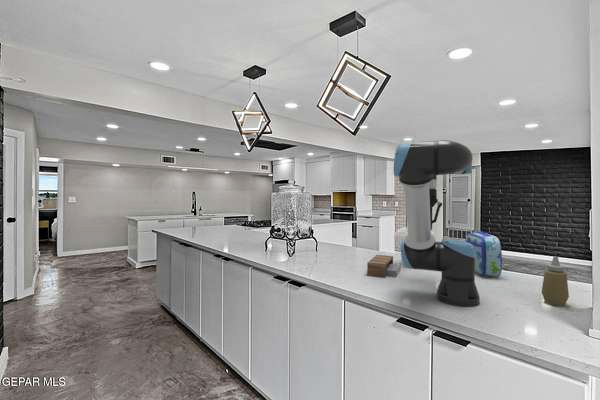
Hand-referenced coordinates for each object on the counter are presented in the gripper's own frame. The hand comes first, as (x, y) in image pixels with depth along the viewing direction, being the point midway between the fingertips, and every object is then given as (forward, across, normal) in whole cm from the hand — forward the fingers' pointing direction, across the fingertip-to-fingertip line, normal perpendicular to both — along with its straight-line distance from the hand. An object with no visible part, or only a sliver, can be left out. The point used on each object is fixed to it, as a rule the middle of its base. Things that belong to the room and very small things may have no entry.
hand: (427, 236), depth 154 cm
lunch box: (+20, -26, -23) cm, 40 cm away
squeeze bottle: (+21, -45, +19) cm, 53 cm away
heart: (+20, +8, -30) cm, 36 cm away
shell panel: (+21, +20, -4) cm, 29 cm away
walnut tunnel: (+20, +23, -4) cm, 31 cm away
